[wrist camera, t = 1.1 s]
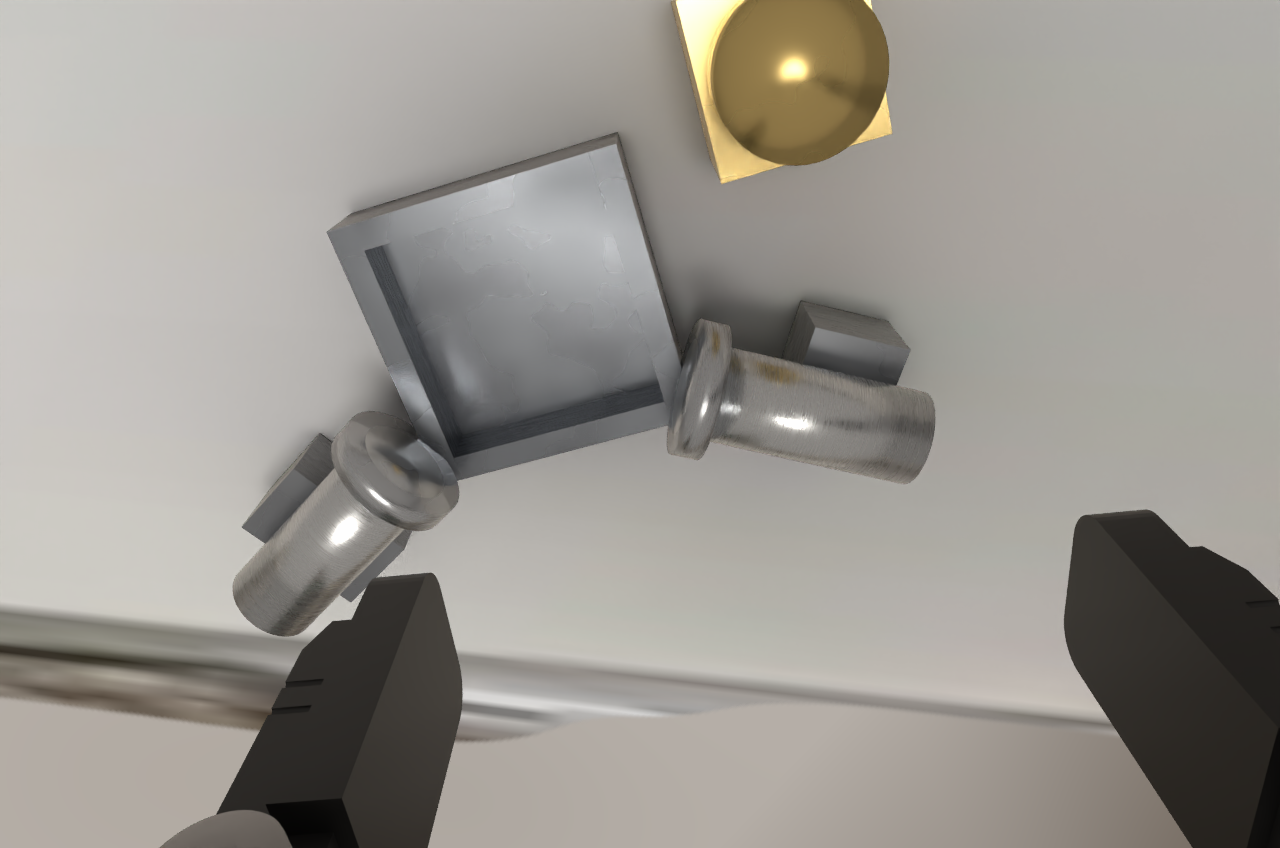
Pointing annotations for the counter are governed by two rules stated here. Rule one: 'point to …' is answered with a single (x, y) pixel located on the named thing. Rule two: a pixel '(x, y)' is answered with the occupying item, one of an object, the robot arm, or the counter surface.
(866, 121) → the gold square-based knob
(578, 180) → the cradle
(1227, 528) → the counter surface
